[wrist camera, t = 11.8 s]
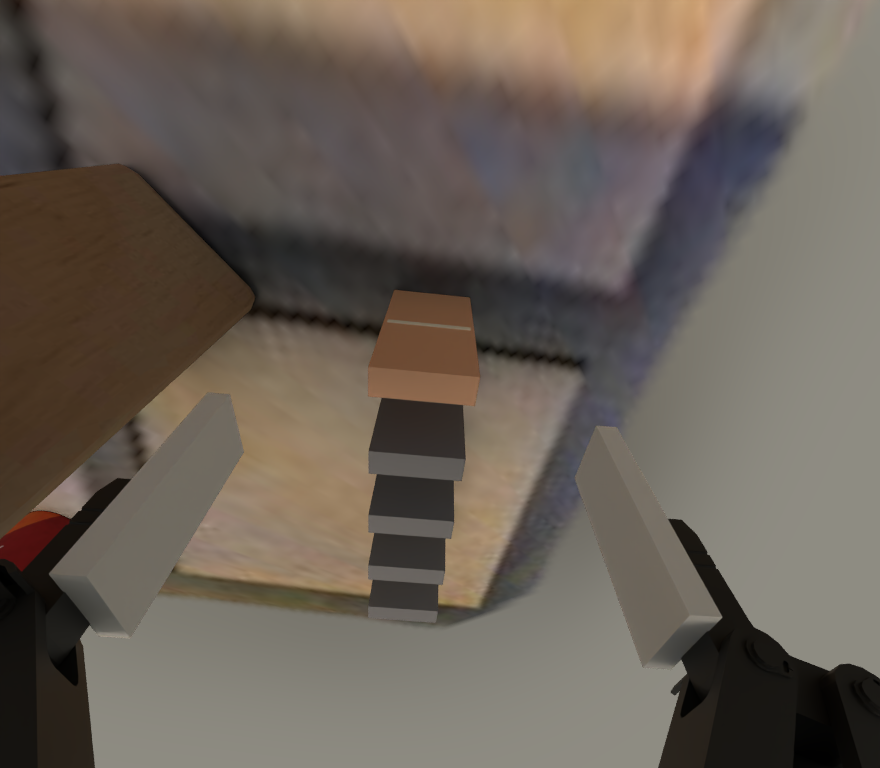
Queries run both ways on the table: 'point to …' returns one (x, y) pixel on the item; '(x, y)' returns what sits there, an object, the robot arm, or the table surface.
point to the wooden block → (94, 317)
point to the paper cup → (30, 537)
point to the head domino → (426, 350)
